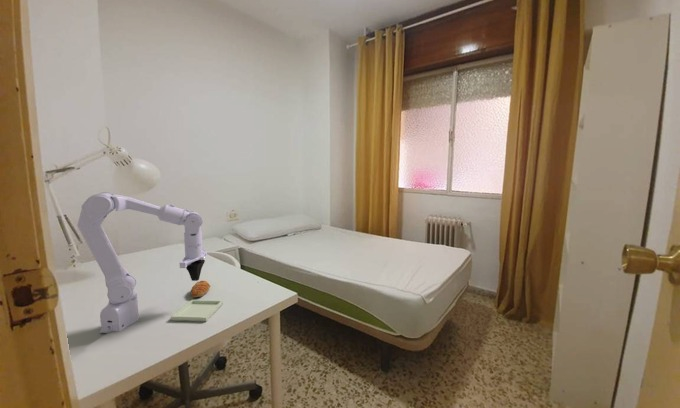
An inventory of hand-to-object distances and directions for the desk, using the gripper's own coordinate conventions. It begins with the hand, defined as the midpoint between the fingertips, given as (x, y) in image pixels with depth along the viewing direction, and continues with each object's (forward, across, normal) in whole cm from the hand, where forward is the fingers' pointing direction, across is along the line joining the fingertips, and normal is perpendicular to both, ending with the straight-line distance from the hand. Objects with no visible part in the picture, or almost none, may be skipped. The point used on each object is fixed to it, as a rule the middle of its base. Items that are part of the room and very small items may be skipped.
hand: (195, 280), depth 98 cm
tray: (+10, -5, -4) cm, 12 cm away
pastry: (+11, +7, +6) cm, 14 cm away
